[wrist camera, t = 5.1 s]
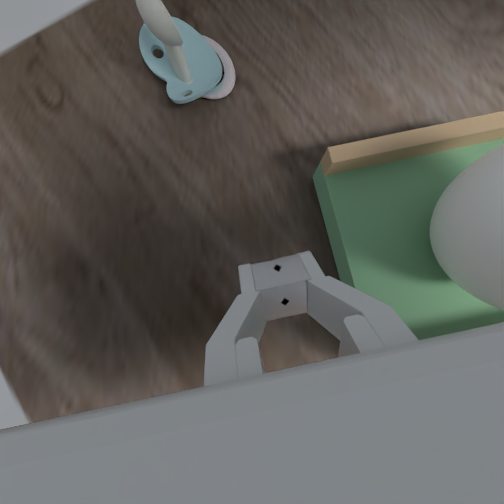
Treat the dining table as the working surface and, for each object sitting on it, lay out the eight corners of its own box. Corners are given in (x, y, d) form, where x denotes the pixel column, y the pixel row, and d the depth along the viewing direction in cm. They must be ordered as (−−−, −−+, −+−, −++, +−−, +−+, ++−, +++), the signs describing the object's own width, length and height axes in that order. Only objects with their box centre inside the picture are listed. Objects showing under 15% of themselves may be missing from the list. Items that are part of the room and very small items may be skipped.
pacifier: (204, 31, 18) (142, 64, 18) (180, -99, 12) (84, -55, 12) (252, 93, 17) (188, 130, 17) (253, -13, 11) (152, 39, 11)
